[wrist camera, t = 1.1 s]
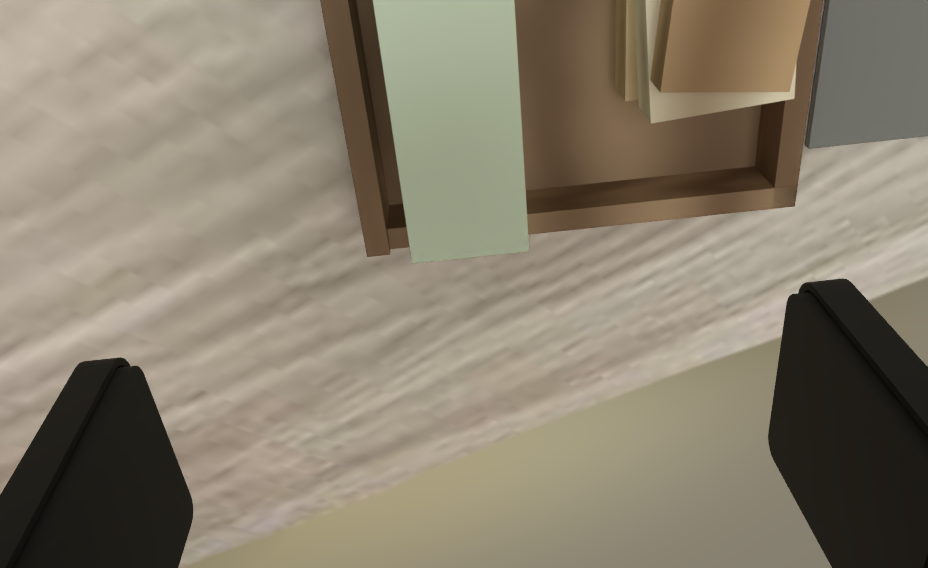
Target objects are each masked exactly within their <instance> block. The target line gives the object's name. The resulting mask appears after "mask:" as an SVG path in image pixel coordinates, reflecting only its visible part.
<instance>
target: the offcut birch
mask: <svg viewBox="0 0 928 568" xmlns="http://www.w3.org/2000/svg"><path fill="white" fill-rule="evenodd" d="M660 3H661V0H634V20H635V40H636V59H637V79H638V98H639V107H640V109H641V110H642V112H643V113H644V115H645V116H646V117H647V119H648V120H649V122H650V123H651V124H652V123H657V122H663V121H669V120H675V119H681V118H686V117H692V116H698V115H704V114H709V113H715V112H721V111H727V110H733V109H738V108H744V107H750V106H756V105H761V104H767V103H773V102H779V101H784V100H790V99H794V98H795V80H796V66H795V70H794V75H793V79H792V83H791V88H790V92H687V93H660V92H659V90H658V89H657V88H656V87H655V85H654V84H653V83H652V82H651V80H650V78H651V70H652V63H653V56H654V48H655V41H656V33H657V26H658V18H659V11H660Z"/></svg>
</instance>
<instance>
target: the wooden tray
mask: <svg viewBox="0 0 928 568" xmlns="http://www.w3.org/2000/svg"><path fill="white" fill-rule="evenodd" d="M320 1H321V6H322V12H323V17H324V23H325V28H326V34H327V39H328V45H329V50H330V56H331V61H332V67H333V72H334V77H335V83H336V88H337V94H338V99H339V105H340V110H341V116H342V121H343V127H344V132H345V138H346V143H347V149H348V154H349V159H350V165H351V170H352V176H353V181H354V187H355V192H356V198H357V203H358V209H359V214H360V220H361V225H362V231H363V236H364V241H365V247H366V252H367V257H372V256H381V255H390V249H395V248H405V247H410V246H409V239H408V232H407V226H406V219H405V212H404V206H403V199H402V192H401V185H400V179H399V172H398V165H397V159H396V152H395V145H394V139H393V132H392V125H391V119H390V112H389V105H388V98H387V92H386V85H385V78H384V72H383V65H382V58H381V52H380V45H379V38H378V32H377V25H376V18H375V11H374V5H373V0H320ZM514 3H515V20H516V37H517V54H518V71H519V88H520V105H521V122H522V138H523V155H524V172H525V189H526V206H527V223H528V234H537V233H547V232H556V231H566V230H575V229H585V228H594V227H604V226H613V225H623V224H632V223H642V222H651V221H660V220H670V219H679V218H689V217H698V216H708V215H717V214H727V213H736V212H746V211H755V210H765V209H774V208H784V207H793V206H795V201H796V193H797V186H798V179H799V172H800V164H801V157H802V150H803V143H804V135H805V128H806V121H807V113H808V106H809V99H810V92H811V84H812V77H813V70H814V63H815V55H816V48H817V41H818V34H819V26H820V19H821V12H822V5H823V0H810V5H809V9H808V14H807V18H806V22H805V27H804V31H803V35H802V40H801V44H800V48H799V53H798V57H797V62H796V80H795V98H794V99H790V100H784V101H779V102H773V103H767V104H761V105H756V106H750V107H744V108H738V109H733V110H727V111H721V112H715V113H709V114H704V115H698V116H692V117H686V118H681V119H675V120H669V121H663V122H657V123H652V124H651V123H650V122H649V120H648V119H647V117H646V116H645V115H644V113H643V112H642V110H641V109H640V107H639V100H633V101H625V100H624V99H623V97H622V96H621V94H620V93H619V91H618V90H617V88H616V87H615V18H616V0H514Z"/></svg>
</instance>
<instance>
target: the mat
mask: <svg viewBox="0 0 928 568" xmlns="http://www.w3.org/2000/svg"><path fill="white" fill-rule="evenodd" d="M924 136H928V0H825V7H824V14H823V21H822V29H821V36H820V43H819V50H818V57H817V64H816V72H815V79H814V86H813V93H812V100H811V107H810V115H809V122H808V129H807V136H806V143H805V146H806V147H807V148H809V149H811V148H820V147H829V146H839V145H848V144H858V143H867V142H877V141H886V140H895V139H905V138H914V137H924Z"/></svg>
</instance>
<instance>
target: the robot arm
mask: <svg viewBox="0 0 928 568" xmlns="http://www.w3.org/2000/svg"><path fill="white" fill-rule="evenodd" d="M768 440H769V447H770V451H771V455H772V457H773V460H774V462H775V463H776V465H777V467H778V469H779V471H780V473H781V474H782V476H783V478H784V480H785V482H786V484H787V486H788V487H789V489H790V491H791V493H792V495H793V497H794V498H795V500H796V502H797V504H798V506H799V508H800V509H801V511H802V513H803V515H804V517H805V519H806V520H807V522H808V524H809V526H810V528H811V530H812V532H813V533H814V535H815V537H816V539H817V541H818V543H819V544H820V546H821V548H822V550H823V551H824V554H825V555H826V557H827V559H828V561H829V563H830V565H831V566H832V568H928V366H926V365H925V364H924V363H923V361H921V359H920V358H919V357H918V356H917V355H916V354H915V353H914V351H913V350H912V349H911V348H909V346H908V345H907V344H906V343H905V341H904V340H903V339H902V338H901V337H900V336H899V335H898V334H897V333H896V331H895V330H894V329H893V328H892V327H891V326H890V325H889V324H888V323H887V321H886V320H885V319H884V318H883V317H882V316H881V315H880V314H879V313H878V312H877V311H876V309H875V308H874V307H873V306H872V305H871V304H870V303H869V302H868V300H867V299H866V298H865V297H864V296H863V295H862V294H861V293H860V292H859V290H858V289H857V288H856V287H855V286H854V285H853V284H852V283H851V282H850V281H849V280H847V279H834V280H825V281H816V282H807V283H804V284H803V285H802V286H801V287H800V289H799V293H798V294H792V295H790V296H789V298H788V301H787V305H786V312H785V319H784V327H783V334H782V341H781V348H780V356H779V362H778V369H777V376H776V383H775V390H774V398H773V405H772V412H771V420H770V426H769V434H768ZM192 519H193V503H192V498H191V495H190V492H189V490H188V487H187V485H186V482H185V479H184V477H183V474H182V472H181V469H180V466H179V464H178V461H177V459H176V456H175V453H174V451H173V448H172V446H171V443H170V440H169V438H168V435H167V433H166V430H165V428H164V425H163V422H162V420H161V417H160V415H159V412H158V409H157V407H156V404H155V402H154V399H153V396H152V394H151V391H150V389H149V386H148V383H147V381H146V378H145V376H144V373H143V371H142V370H141V369H140V367H138V366H130V365H129V363H128V362H127V361H126V360H125V359H124V358H111V359H102V360H93V361H84V362H81V363H79V364H78V365H77V367H76V368H75V369H74V371H73V373H72V375H71V376H70V378H69V380H68V381H67V383H66V385H65V386H64V388H63V390H62V392H61V393H60V395H59V397H58V398H57V400H56V402H55V403H54V405H53V407H52V408H51V410H50V412H49V414H48V415H47V417H46V419H45V420H44V422H43V424H42V425H41V427H40V429H39V430H38V432H37V434H36V436H35V437H34V439H33V441H32V442H31V444H30V446H29V447H28V449H27V451H26V453H25V454H24V456H23V458H22V459H21V461H20V463H19V464H18V466H17V468H16V469H15V471H14V473H13V475H12V476H11V478H10V480H9V481H8V483H7V485H6V486H5V488H4V490H3V492H2V493H1V495H0V568H178V566H179V563H180V560H181V556H182V553H183V550H184V547H185V543H186V540H187V537H188V533H189V530H190V527H191V523H192Z"/></svg>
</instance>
